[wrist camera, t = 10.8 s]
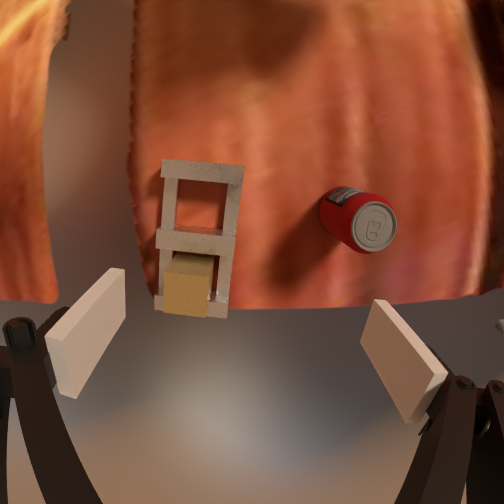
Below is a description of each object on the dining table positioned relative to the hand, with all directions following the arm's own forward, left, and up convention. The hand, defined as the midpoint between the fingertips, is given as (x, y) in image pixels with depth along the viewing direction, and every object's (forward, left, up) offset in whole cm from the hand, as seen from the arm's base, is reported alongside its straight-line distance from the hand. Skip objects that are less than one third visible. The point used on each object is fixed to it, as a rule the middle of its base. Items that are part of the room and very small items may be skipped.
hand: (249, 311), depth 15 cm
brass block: (+8, -6, -28) cm, 29 cm away
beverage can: (-3, +13, -28) cm, 31 cm away
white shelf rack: (+3, -6, -28) cm, 28 cm away
